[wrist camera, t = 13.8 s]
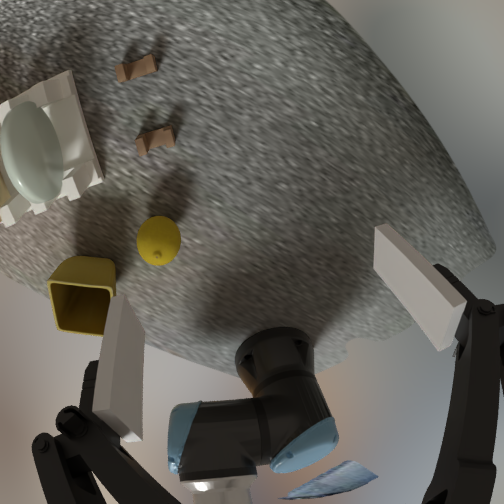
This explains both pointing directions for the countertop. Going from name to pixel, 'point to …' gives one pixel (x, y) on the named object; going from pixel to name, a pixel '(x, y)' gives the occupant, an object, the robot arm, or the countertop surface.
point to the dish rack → (70, 138)
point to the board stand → (155, 136)
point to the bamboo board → (3, 192)
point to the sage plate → (32, 153)
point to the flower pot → (82, 294)
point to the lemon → (158, 240)
